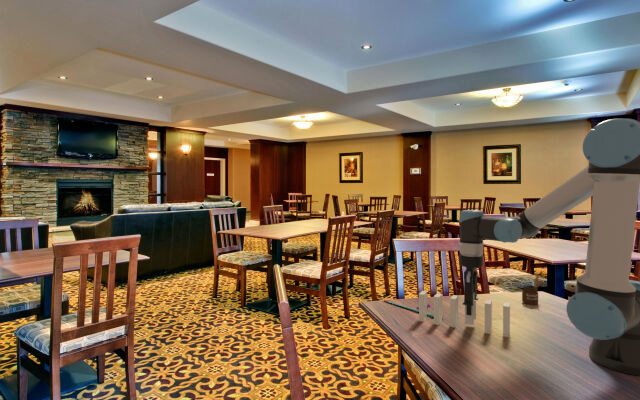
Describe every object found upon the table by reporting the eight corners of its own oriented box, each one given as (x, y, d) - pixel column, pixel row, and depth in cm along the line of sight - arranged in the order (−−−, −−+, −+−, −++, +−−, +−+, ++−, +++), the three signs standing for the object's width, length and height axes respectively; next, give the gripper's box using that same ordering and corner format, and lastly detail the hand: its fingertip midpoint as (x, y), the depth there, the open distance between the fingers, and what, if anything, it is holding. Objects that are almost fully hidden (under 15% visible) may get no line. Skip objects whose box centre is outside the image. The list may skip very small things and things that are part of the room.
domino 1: (427, 317, 132) (427, 291, 132) (423, 322, 128) (423, 294, 128) (422, 316, 133) (422, 290, 133) (418, 321, 129) (418, 294, 129)
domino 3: (458, 323, 127) (458, 295, 127) (455, 327, 122) (455, 299, 122) (452, 322, 128) (452, 294, 128) (450, 326, 123) (450, 298, 123)
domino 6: (509, 332, 118) (510, 302, 118) (509, 337, 114) (509, 306, 114) (503, 331, 119) (504, 301, 119) (503, 336, 115) (503, 306, 115)
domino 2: (442, 320, 129) (442, 293, 129) (438, 325, 125) (438, 297, 125) (437, 319, 130) (437, 293, 130) (433, 324, 126) (433, 296, 126)
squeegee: (456, 311, 135) (441, 317, 129) (456, 316, 135) (441, 321, 129) (399, 295, 158) (383, 299, 152) (399, 299, 158) (383, 303, 152)
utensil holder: (519, 300, 153) (519, 273, 152) (533, 300, 152) (533, 273, 152) (527, 305, 147) (527, 276, 146) (542, 305, 147) (542, 276, 146)
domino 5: (491, 329, 121) (492, 300, 121) (490, 334, 117) (490, 304, 117) (486, 328, 122) (486, 299, 122) (484, 333, 118) (484, 303, 118)
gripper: (463, 250, 131) (463, 311, 132) (454, 257, 116) (454, 327, 117) (485, 251, 128) (485, 315, 128) (479, 260, 112) (479, 332, 113)
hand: (470, 321), depth 122 cm, fingers closed on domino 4, 5 cm apart
